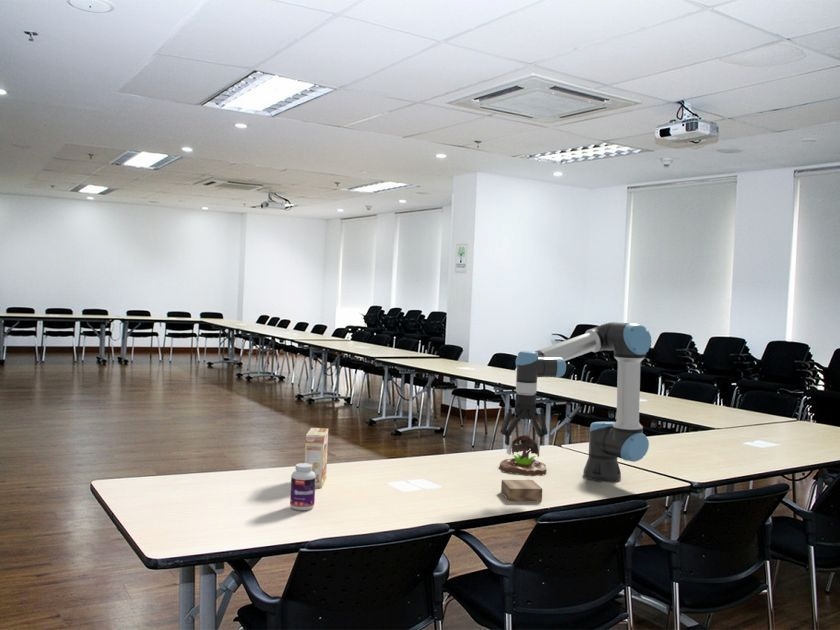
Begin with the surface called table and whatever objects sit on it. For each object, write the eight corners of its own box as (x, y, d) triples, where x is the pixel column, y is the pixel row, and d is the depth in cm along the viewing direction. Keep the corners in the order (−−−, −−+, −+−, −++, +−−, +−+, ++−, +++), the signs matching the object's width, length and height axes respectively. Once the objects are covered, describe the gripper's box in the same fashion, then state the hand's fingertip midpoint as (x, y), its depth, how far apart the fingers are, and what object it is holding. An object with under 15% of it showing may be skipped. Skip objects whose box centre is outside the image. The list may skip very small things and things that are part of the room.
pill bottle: (291, 512, 234) (292, 468, 234) (288, 504, 242) (290, 462, 242) (316, 511, 237) (317, 467, 236) (312, 503, 244) (314, 461, 244)
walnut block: (532, 493, 270) (532, 479, 270) (541, 502, 258) (542, 488, 258) (501, 493, 269) (501, 479, 268) (509, 502, 257) (510, 488, 257)
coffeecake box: (322, 488, 264) (324, 435, 263) (302, 487, 264) (304, 434, 263) (327, 477, 279) (329, 427, 278) (308, 477, 278) (310, 427, 278)
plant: (500, 462, 317) (501, 437, 317) (544, 466, 315) (546, 440, 314) (499, 473, 297) (500, 447, 297) (546, 477, 295) (548, 450, 294)
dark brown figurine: (542, 460, 257) (533, 441, 255) (517, 469, 259) (508, 450, 257) (539, 444, 268) (530, 426, 266) (516, 453, 270) (507, 435, 268)
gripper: (550, 392, 269) (547, 451, 269) (493, 391, 263) (490, 451, 264) (559, 395, 261) (556, 455, 262) (499, 394, 256) (496, 456, 257)
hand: (522, 453), depth 263 cm, fingers closed on dark brown figurine, 10 cm apart
